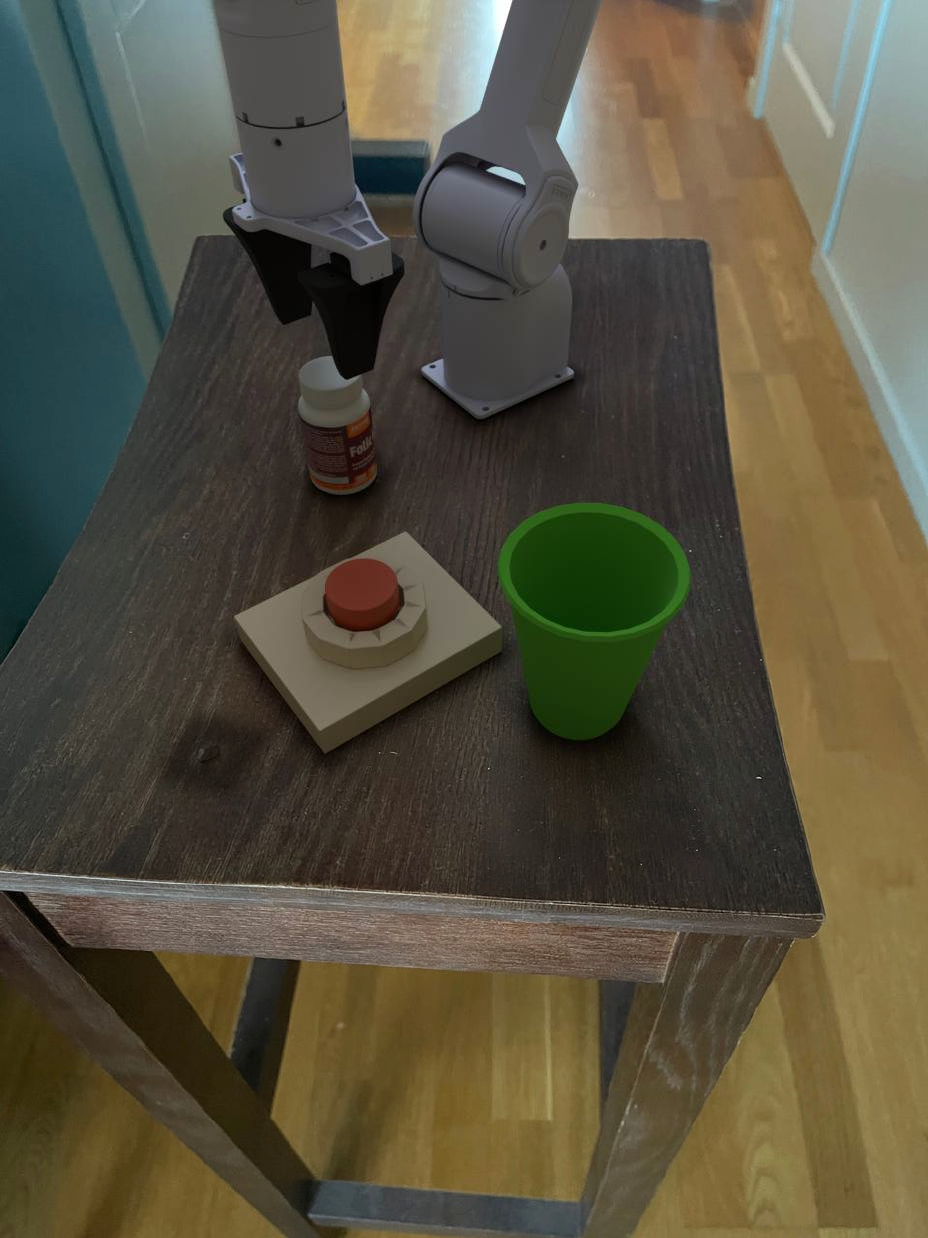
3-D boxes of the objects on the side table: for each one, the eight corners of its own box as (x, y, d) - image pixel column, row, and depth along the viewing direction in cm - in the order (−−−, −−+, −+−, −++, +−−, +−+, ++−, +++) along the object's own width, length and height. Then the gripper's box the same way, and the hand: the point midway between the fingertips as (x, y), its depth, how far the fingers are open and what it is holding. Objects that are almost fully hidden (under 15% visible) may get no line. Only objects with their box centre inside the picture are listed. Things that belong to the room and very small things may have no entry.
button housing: (408, 555, 59) (403, 509, 56) (502, 651, 54) (503, 605, 51) (240, 640, 55) (226, 594, 52) (324, 754, 49) (314, 711, 46)
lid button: (375, 569, 53) (372, 547, 52) (413, 610, 51) (411, 588, 50) (315, 599, 52) (311, 578, 50) (352, 643, 50) (348, 621, 48)
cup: (540, 621, 55) (550, 479, 47) (682, 680, 52) (720, 539, 44) (465, 728, 50) (461, 591, 42) (617, 801, 47) (646, 668, 39)
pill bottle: (368, 500, 63) (355, 397, 56) (301, 492, 63) (281, 389, 57) (385, 457, 66) (375, 355, 60) (322, 450, 66) (305, 348, 60)
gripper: (159, 84, 49) (215, 315, 59) (290, 175, 41) (328, 423, 51) (276, 56, 52) (310, 282, 62) (420, 137, 44) (431, 380, 54)
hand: (325, 344), depth 57 cm, fingers open, 7 cm apart
